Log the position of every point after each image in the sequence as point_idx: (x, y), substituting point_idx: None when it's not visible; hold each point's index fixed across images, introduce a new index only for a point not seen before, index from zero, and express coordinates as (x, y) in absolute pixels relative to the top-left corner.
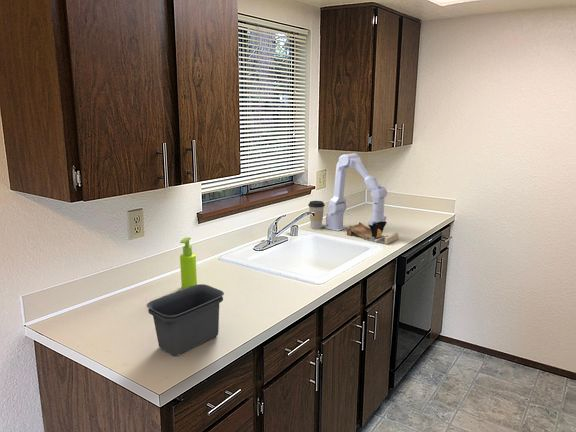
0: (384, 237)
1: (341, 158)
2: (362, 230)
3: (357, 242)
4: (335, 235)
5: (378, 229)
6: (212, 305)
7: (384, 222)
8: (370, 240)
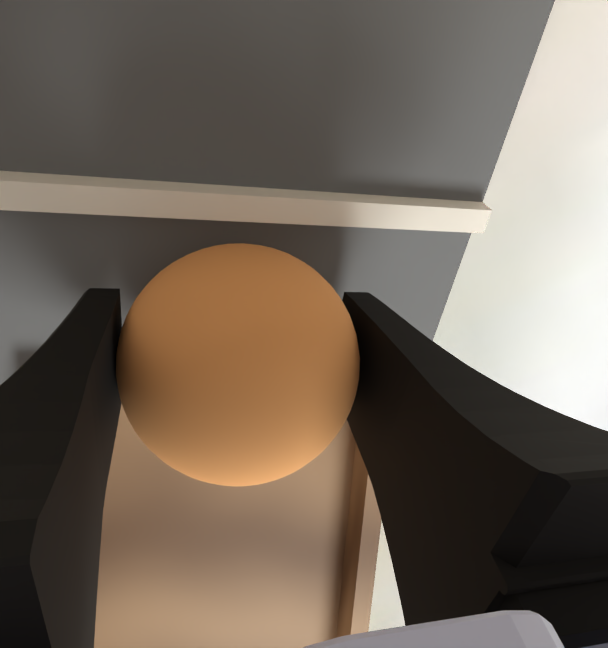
0: (99, 179)
1: None
2: (198, 587)
3: (568, 390)
4: (386, 622)
5: (276, 411)
6: None
7: (26, 579)
8: (442, 306)
